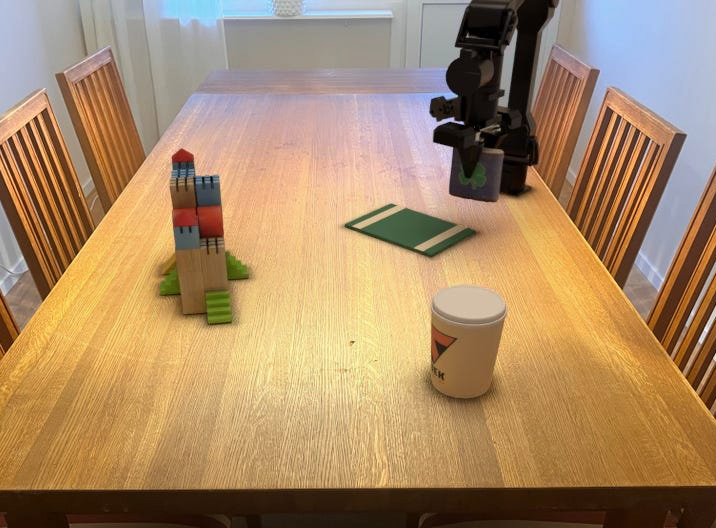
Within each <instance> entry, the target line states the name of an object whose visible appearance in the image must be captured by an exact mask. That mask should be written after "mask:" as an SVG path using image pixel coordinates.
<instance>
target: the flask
mask: <svg viewBox="0 0 716 528" xmlns="http://www.w3.org/2000/svg"><path fill="white" fill-rule="evenodd" d="M479 141H481V142H482V141H484V138H481V137H480V138H479ZM503 158H504V152H503V151H502V150H500V149H490V148H483V150H482V152H481V155H480V157H479V160H478V162H477V165H476V168H475V170H474V172H473V175H472V177H471V178H470V179H469V178H465V176H464V172H463V168H462V164H461V159H460V156H459V153H458V150H457V148H453V147H452V155H451V165H450V175H449V181H448V183H449V184H448V195H450V196H452V197H456V198H460V199H464V200H472V201H476V202H484V203H498V201H499V199H500V192H499V190H500V182H501V172H502V164H503Z"/></svg>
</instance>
